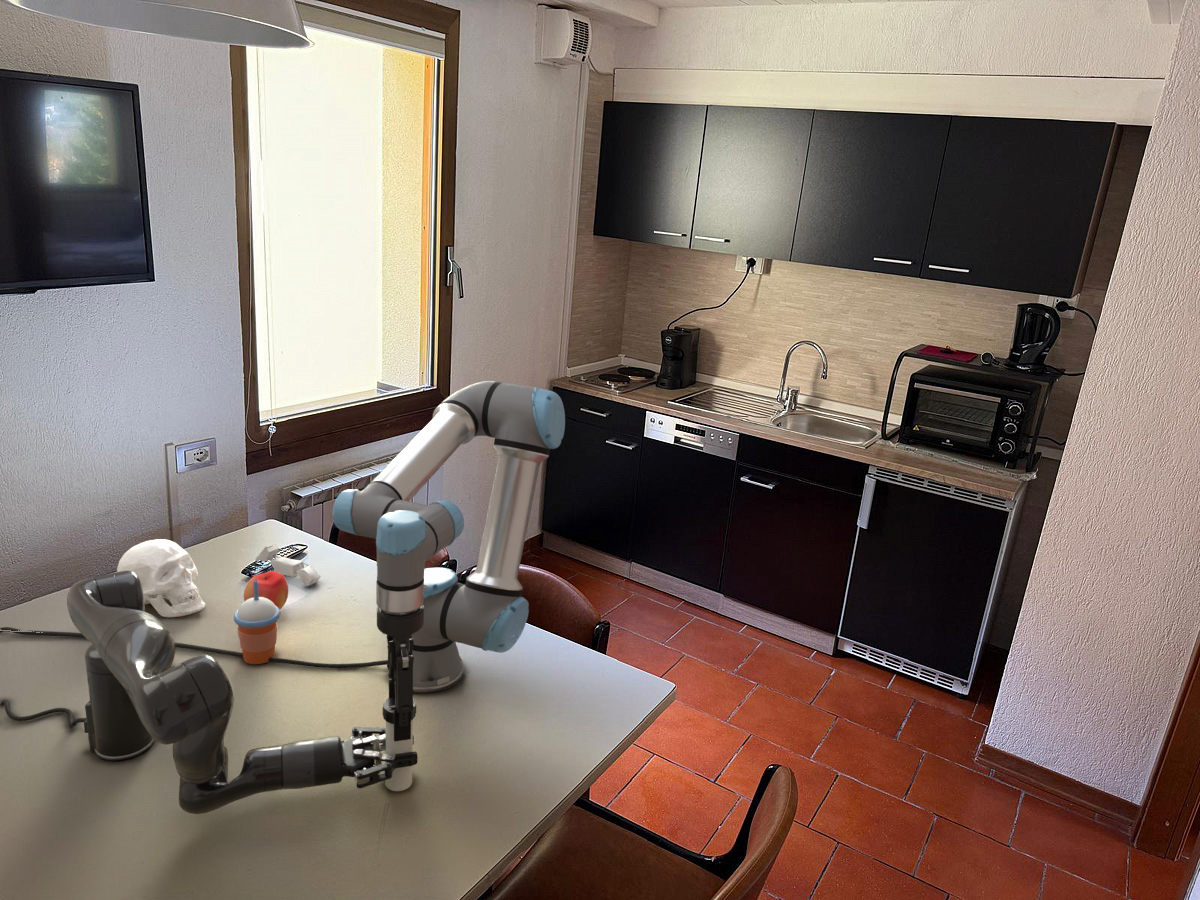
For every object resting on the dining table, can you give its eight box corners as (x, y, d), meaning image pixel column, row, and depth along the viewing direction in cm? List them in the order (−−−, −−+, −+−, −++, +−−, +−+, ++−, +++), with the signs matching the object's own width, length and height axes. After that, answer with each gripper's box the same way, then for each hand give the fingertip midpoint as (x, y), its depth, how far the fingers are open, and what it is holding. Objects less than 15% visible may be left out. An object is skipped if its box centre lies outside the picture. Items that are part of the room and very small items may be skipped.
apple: (273, 600, 207) (272, 562, 204) (297, 613, 202) (296, 575, 199) (237, 614, 200) (234, 575, 197) (261, 628, 194) (259, 588, 191)
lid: (397, 701, 149) (397, 691, 148) (422, 712, 147) (423, 701, 146) (375, 717, 144) (375, 706, 144) (401, 728, 142) (402, 717, 141)
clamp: (253, 565, 223) (254, 542, 221) (265, 560, 226) (266, 537, 224) (309, 593, 215) (310, 569, 213) (320, 588, 218) (321, 564, 216)
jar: (413, 774, 152) (415, 699, 147) (409, 791, 147) (410, 715, 143) (388, 773, 151) (388, 698, 147) (383, 791, 147) (383, 714, 143)
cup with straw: (266, 671, 178) (262, 594, 173) (227, 664, 180) (222, 586, 174) (290, 650, 187) (287, 575, 181) (252, 643, 188) (248, 568, 183)
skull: (183, 627, 192) (180, 562, 188) (105, 607, 198) (100, 543, 194) (224, 603, 205) (222, 542, 200) (149, 585, 210) (146, 525, 206)
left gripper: (312, 771, 135) (421, 755, 141) (310, 718, 148) (410, 706, 154) (313, 810, 137) (420, 793, 143) (311, 755, 150) (409, 741, 156)
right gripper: (433, 632, 132) (430, 758, 138) (415, 576, 149) (413, 690, 156) (383, 637, 129) (383, 765, 136) (371, 580, 147) (371, 696, 154)
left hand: (414, 748), depth 148 cm, fingers closed on jar, 4 cm apart
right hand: (399, 725), depth 146 cm, fingers open, 7 cm apart
